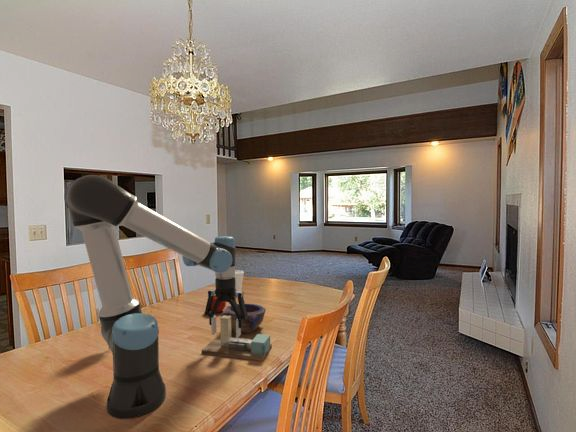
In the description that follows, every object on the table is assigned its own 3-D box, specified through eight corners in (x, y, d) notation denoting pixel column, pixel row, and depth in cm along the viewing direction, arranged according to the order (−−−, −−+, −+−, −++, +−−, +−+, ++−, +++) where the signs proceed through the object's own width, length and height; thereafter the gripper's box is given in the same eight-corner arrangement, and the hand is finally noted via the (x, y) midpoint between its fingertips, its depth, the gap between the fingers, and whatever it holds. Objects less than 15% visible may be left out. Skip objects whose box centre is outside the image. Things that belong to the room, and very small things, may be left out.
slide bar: (262, 351, 118) (262, 321, 118) (220, 346, 122) (220, 317, 122) (264, 348, 121) (264, 319, 120) (223, 343, 125) (223, 315, 124)
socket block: (264, 355, 116) (264, 343, 115) (251, 353, 117) (251, 341, 117) (270, 346, 122) (270, 335, 122) (257, 345, 124) (257, 333, 123)
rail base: (262, 360, 114) (262, 351, 114) (201, 353, 120) (201, 343, 120) (271, 347, 124) (271, 338, 124) (215, 340, 130) (215, 332, 130)
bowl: (270, 323, 149) (270, 302, 148) (256, 339, 132) (256, 315, 131) (235, 319, 154) (234, 299, 153) (217, 334, 136) (216, 311, 136)
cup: (247, 292, 201) (247, 271, 201) (236, 296, 193) (236, 274, 192) (235, 289, 207) (235, 269, 206) (224, 293, 198) (224, 272, 198)
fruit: (203, 313, 162) (203, 294, 162) (212, 307, 172) (212, 289, 171) (221, 315, 160) (220, 295, 160) (228, 309, 169) (228, 290, 169)
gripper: (256, 276, 123) (256, 333, 124) (204, 273, 128) (204, 328, 129) (249, 280, 116) (249, 341, 117) (194, 277, 121) (195, 335, 122)
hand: (226, 334), depth 123 cm, fingers open, 9 cm apart
